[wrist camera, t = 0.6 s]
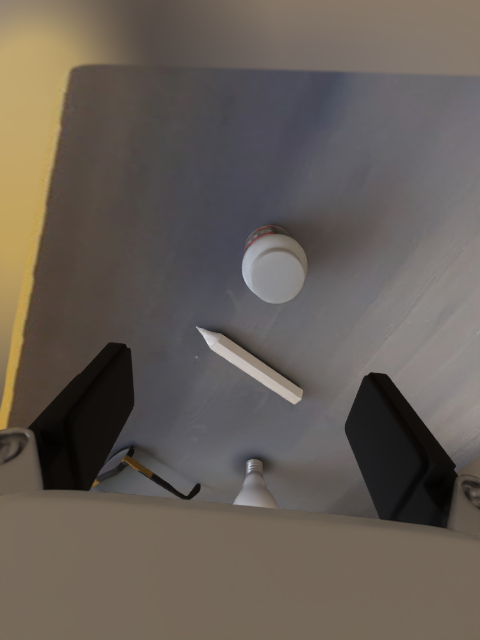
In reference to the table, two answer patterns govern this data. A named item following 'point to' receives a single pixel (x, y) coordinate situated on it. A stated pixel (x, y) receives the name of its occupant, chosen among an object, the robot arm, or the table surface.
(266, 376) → the white pencil
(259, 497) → the lightbulb
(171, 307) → the table surface
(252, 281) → the pill bottle
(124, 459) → the sunglasses
